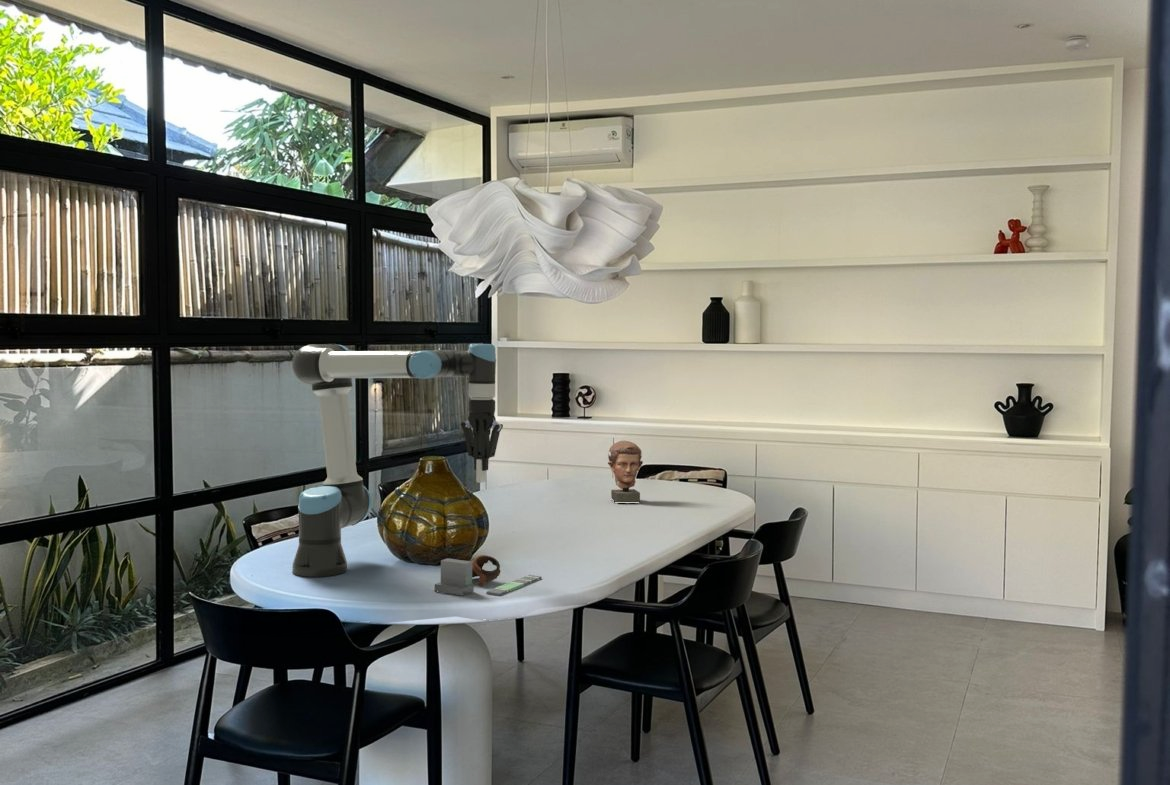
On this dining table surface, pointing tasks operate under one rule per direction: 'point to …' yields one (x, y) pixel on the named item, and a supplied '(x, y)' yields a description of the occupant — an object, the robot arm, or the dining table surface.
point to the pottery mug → (483, 574)
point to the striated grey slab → (455, 577)
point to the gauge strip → (513, 585)
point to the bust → (625, 470)
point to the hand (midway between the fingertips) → (481, 481)
